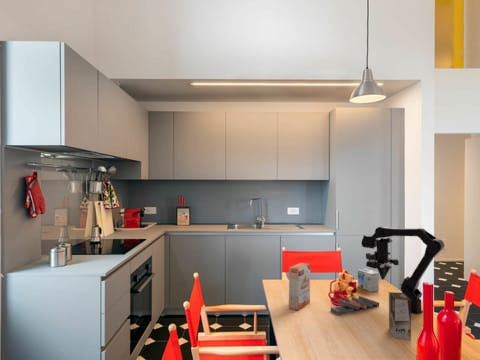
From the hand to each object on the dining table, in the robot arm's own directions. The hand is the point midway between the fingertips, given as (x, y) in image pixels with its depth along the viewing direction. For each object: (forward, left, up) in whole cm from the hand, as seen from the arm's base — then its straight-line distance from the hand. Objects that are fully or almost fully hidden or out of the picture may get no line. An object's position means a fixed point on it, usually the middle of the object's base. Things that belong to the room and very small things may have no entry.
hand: (382, 279), depth 165 cm
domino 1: (0, +23, -12) cm, 26 cm away
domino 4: (0, +10, -12) cm, 16 cm away
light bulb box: (+20, -11, -13) cm, 26 cm away
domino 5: (0, +6, -12) cm, 13 cm away
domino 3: (0, +15, -12) cm, 19 cm away
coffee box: (-28, +23, -13) cm, 38 cm away
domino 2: (0, +19, -12) cm, 22 cm away
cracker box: (+15, +43, -13) cm, 47 cm away
